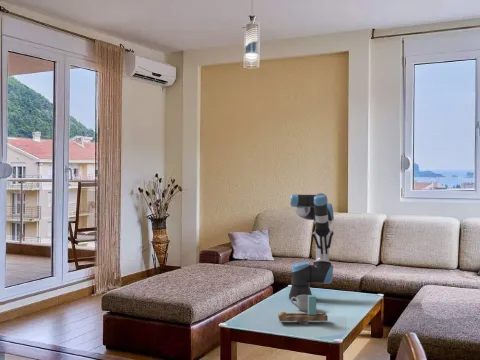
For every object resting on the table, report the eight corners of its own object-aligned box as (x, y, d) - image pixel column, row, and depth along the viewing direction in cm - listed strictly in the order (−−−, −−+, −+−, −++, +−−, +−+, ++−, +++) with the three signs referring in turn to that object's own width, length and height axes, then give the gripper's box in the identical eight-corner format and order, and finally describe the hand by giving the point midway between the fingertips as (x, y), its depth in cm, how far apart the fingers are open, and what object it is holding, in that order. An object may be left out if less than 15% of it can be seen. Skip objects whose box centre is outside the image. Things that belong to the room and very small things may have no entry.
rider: (308, 317, 286) (308, 296, 285) (307, 315, 290) (307, 295, 289) (316, 317, 286) (316, 296, 286) (314, 315, 290) (314, 295, 290)
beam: (279, 324, 284) (279, 314, 284) (277, 321, 291) (277, 311, 291) (327, 324, 285) (327, 314, 285) (324, 320, 292) (325, 310, 292)
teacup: (315, 308, 317) (316, 295, 317) (312, 313, 307) (312, 299, 307) (293, 306, 322) (293, 293, 322) (289, 311, 312) (289, 297, 311)
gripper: (310, 224, 306) (313, 262, 311) (333, 222, 305) (336, 260, 310) (310, 220, 313) (313, 257, 319) (332, 218, 312) (335, 256, 317)
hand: (324, 258), depth 314 cm, fingers closed
